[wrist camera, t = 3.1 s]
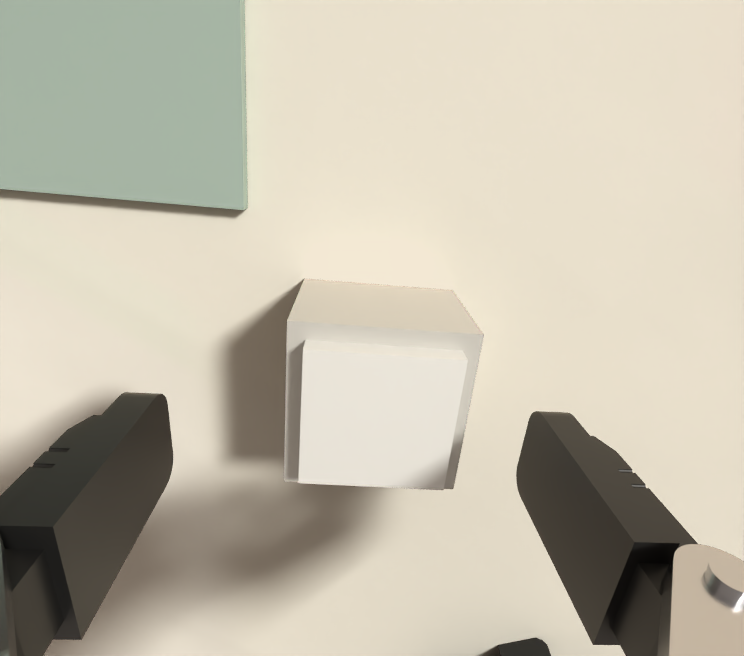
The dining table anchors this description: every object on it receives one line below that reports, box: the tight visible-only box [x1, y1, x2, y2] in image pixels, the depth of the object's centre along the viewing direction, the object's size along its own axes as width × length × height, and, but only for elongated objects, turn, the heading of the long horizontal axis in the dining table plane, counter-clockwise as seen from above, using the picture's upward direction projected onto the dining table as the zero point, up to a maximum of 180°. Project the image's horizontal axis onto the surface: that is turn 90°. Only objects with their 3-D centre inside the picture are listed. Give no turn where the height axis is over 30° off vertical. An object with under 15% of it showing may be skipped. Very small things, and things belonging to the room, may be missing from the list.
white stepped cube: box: [284, 279, 484, 490], centre depth 11 cm, size 4×4×4 cm
